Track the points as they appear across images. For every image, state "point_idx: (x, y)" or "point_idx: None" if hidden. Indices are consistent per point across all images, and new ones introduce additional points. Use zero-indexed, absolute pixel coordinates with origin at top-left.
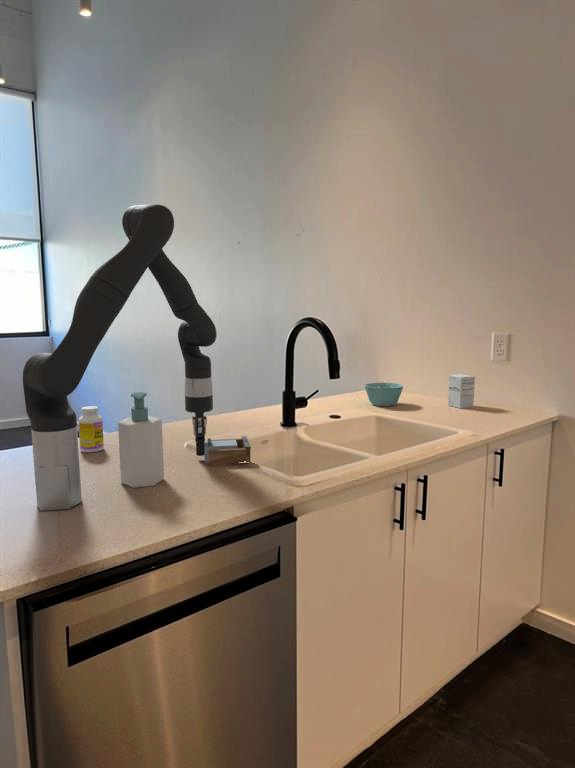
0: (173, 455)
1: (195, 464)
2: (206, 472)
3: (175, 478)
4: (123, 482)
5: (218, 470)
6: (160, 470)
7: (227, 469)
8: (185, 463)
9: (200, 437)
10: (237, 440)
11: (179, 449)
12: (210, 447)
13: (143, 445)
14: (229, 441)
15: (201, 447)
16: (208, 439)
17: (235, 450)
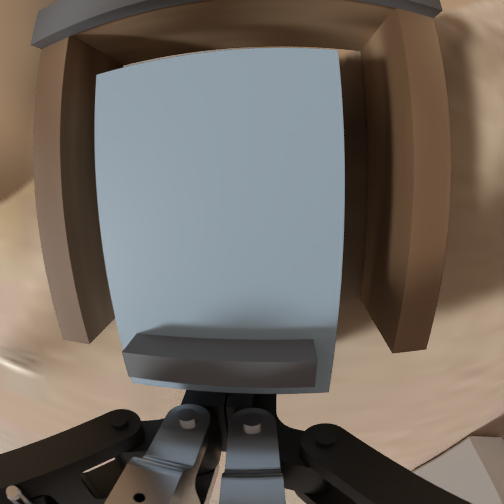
0: None
1: (336, 369)
2: (482, 306)
3: (481, 407)
4: None
5: (477, 244)
6: (497, 458)
7: (475, 191)
8: (301, 410)
9: (321, 481)
10: (68, 73)
11: (66, 401)
12: (331, 341)
13: None
14: (150, 132)
15: (275, 399)
16: (179, 378)
17: (445, 102)
